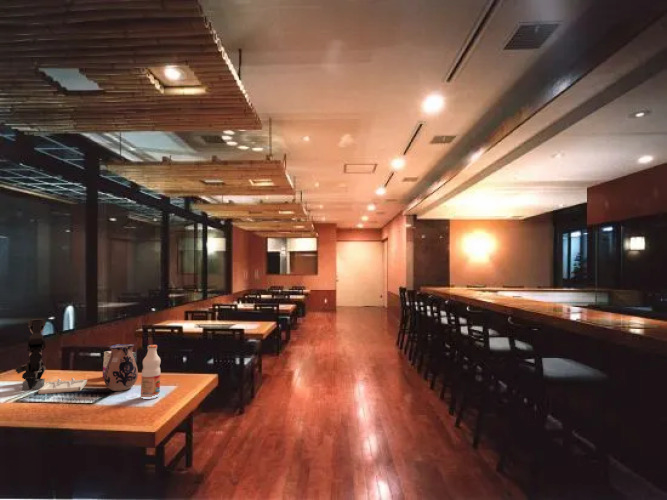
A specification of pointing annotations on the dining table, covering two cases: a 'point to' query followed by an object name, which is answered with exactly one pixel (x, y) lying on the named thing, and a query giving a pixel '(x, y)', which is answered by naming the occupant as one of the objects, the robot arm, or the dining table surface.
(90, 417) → the dining table surface
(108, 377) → the ceramic pitcher
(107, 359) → the candy bar box
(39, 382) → the grey rectangular block
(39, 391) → the tray
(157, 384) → the fruit juice
